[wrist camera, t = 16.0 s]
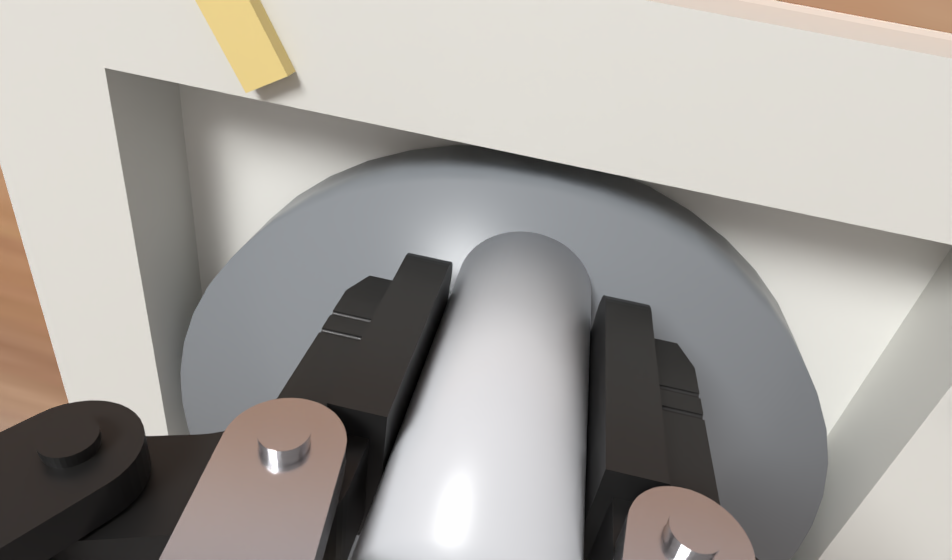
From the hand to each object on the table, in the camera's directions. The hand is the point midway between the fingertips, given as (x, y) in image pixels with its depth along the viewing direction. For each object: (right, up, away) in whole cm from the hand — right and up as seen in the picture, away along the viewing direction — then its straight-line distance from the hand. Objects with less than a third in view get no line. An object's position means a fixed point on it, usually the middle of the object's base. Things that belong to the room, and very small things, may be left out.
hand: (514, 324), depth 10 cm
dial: (0, -3, +5) cm, 6 cm away
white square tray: (0, -2, +6) cm, 6 cm away
